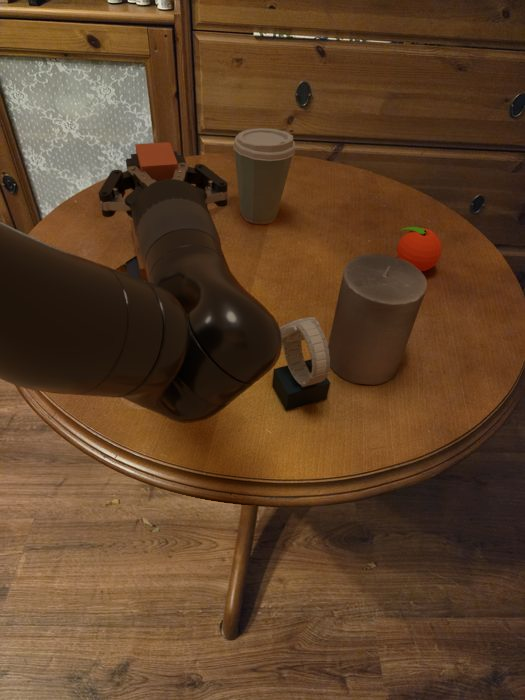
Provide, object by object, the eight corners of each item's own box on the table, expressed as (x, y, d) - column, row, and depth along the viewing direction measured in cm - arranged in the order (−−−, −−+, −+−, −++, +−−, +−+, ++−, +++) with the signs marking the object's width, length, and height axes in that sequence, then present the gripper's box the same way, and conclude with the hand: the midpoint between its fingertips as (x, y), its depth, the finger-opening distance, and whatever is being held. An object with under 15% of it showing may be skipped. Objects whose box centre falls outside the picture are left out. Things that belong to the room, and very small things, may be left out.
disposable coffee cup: (219, 212, 92) (219, 130, 82) (263, 196, 98) (268, 117, 87) (256, 237, 87) (261, 152, 76) (300, 218, 92) (310, 137, 82)
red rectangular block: (183, 243, 61) (178, 163, 54) (150, 246, 60) (140, 166, 53) (175, 218, 65) (169, 141, 58) (144, 221, 64) (135, 143, 57)
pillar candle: (357, 326, 71) (380, 234, 61) (413, 364, 66) (448, 272, 56) (310, 355, 67) (326, 262, 56) (366, 399, 62) (395, 305, 51)
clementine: (379, 267, 82) (389, 229, 77) (397, 249, 87) (407, 212, 82) (424, 285, 79) (438, 247, 74) (440, 266, 83) (454, 229, 78)
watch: (304, 364, 65) (315, 299, 58) (333, 410, 60) (349, 344, 52) (265, 375, 64) (271, 309, 56) (291, 422, 58) (301, 357, 51)
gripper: (250, 193, 46) (212, 124, 58) (92, 207, 43) (85, 131, 55) (247, 261, 52) (213, 185, 63) (106, 277, 48) (98, 194, 60)
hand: (154, 160), depth 59 cm, fingers closed on red rectangular block, 4 cm apart
